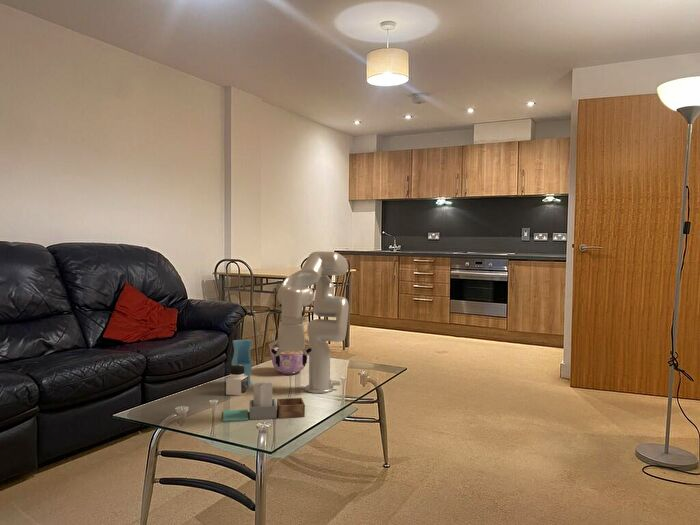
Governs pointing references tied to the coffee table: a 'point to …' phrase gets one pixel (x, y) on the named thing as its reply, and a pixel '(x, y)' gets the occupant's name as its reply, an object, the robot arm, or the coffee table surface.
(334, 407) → the coffee table surface
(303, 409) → the walnut bin
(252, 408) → the grey bin
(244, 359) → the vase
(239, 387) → the medicine bottle
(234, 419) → the teal pad
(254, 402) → the skincare box
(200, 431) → the coffee table surface
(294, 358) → the bowl of food
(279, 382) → the coffee table surface
